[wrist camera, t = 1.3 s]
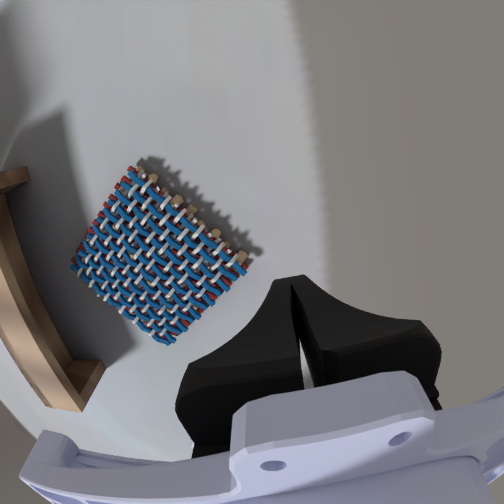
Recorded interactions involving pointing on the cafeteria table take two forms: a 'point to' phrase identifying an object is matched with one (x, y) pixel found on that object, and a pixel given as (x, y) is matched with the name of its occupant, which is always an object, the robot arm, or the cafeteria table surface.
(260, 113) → the cafeteria table surface
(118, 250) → the woven mat
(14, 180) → the curved wooden frame
